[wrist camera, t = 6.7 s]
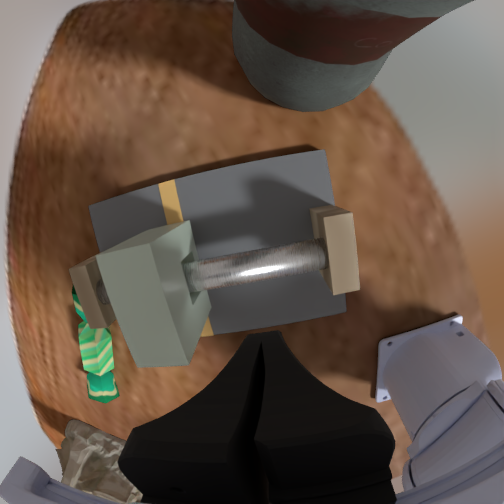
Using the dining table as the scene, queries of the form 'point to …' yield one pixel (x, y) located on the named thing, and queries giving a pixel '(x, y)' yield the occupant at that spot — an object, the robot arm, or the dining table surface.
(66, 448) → the jagged grey rock
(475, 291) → the dining table surface
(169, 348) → the grey square nut
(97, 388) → the candy
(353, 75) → the bottle
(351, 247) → the pipe rig
